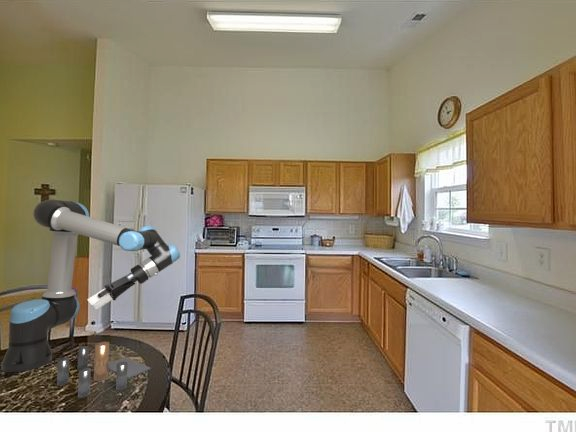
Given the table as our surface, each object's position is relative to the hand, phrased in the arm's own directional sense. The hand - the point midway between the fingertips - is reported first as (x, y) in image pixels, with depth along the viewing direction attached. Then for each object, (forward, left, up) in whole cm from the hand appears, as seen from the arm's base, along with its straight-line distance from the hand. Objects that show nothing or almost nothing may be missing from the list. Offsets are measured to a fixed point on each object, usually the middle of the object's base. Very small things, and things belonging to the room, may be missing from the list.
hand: (92, 305), depth 117 cm
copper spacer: (+9, -1, -24) cm, 26 cm away
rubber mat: (+9, +9, -24) cm, 27 cm away
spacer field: (+9, -5, -24) cm, 26 cm away
